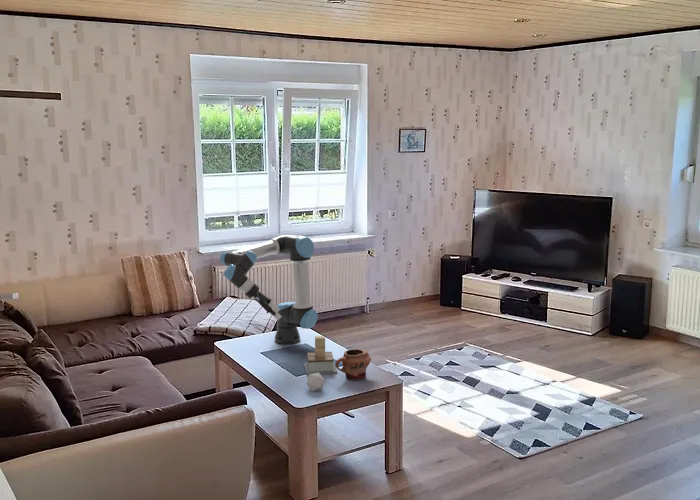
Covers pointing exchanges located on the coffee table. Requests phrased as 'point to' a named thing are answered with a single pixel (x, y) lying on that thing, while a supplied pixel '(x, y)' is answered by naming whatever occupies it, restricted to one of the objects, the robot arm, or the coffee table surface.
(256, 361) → the coffee table surface
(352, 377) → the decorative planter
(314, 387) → the die
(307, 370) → the square socket base
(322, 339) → the wooden t-shaped block
